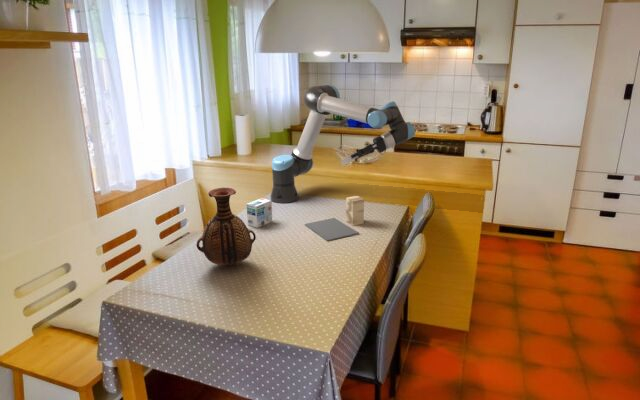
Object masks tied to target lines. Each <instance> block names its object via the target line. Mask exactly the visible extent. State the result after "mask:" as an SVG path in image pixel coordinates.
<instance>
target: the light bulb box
mask: <svg viewBox="0 0 640 400" xmlns="http://www.w3.org/2000/svg"><path fill="white" fill-rule="evenodd" d="M272 202H273V201H271V199H266V198H263V197H262V198H258V199H256V200H253V201H250V202H248V203H246V215H247V225H248V226H249V227H253V228H256V229H258V228H261V227H262V226H265V225H268V224H270V222H271V223H273V207H272V206H273V205H272Z"/></svg>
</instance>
